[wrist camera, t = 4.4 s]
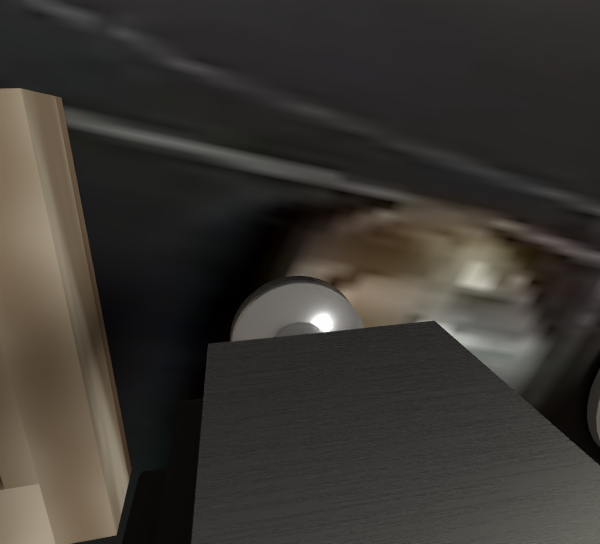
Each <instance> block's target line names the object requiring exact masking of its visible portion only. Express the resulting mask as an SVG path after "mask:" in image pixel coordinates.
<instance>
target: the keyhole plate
mask: <svg viewBox="0 0 600 544" xmlns="http://www.w3.org/2000/svg"><path fill="white" fill-rule="evenodd" d="M130 474H131V464H130V459H129V454H128V448H127V443H126V438H125V432H124V427H123V422H122V417H121V411H120V406H119V401H118V395H117V390H116V385H115V380H114V374H113V369H112V364H111V358H110V353H109V348H108V342H107V337H106V332H105V327H104V321H103V316H102V311H101V305H100V300H99V295H98V289H97V284H96V279H95V274H94V268H93V263H92V258H91V252H90V247H89V242H88V237H87V231H86V226H85V221H84V215H83V210H82V205H81V199H80V194H79V189H78V184H77V178H76V173H75V168H74V162H73V157H72V152H71V147H70V141H69V136H68V131H67V125H66V120H65V115H64V109H63V104H62V99H61V98H60V97H56V96H52V95H47V94H43V93H38V92H34V91H30V90H25V89H21V88H15V89H0V544H71V543H77V542H82V541H87V540H93V539H98V538H104V537H109V536H114V535H116V534H117V530H118V526H119V521H120V517H121V513H122V508H123V504H124V500H125V495H126V491H127V487H128V482H129V478H130Z"/></svg>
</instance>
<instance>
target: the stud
mask: <svg viewBox="0 0 600 544" xmlns="http://www.w3.org/2000/svg"><path fill="white" fill-rule="evenodd" d="M191 544H600V465H598V464H597V463H596V462H595V461H594V460H593V459H592V458H590V457H589V456H588V455H587V454H586V453H585V452H584V451H582V450H581V449H580V448H579V447H578V446H577V445H576V444H574V443H573V442H572V441H571V440H570V439H569V438H568V437H566V436H565V435H564V434H563V433H562V432H561V431H560V430H559V429H557V428H556V427H555V426H554V425H553V424H552V423H551V422H549V421H548V420H547V419H546V418H545V417H544V416H543V415H541V414H540V413H539V412H538V411H537V410H536V409H535V408H533V407H532V406H531V405H530V404H529V403H528V402H527V401H525V400H524V399H523V398H522V397H521V396H520V395H519V394H517V393H516V392H515V391H514V390H513V389H512V388H511V387H509V386H508V385H507V384H506V383H505V382H504V381H503V380H501V379H500V378H499V377H498V376H497V375H496V374H495V373H493V372H492V371H491V370H490V369H489V368H488V367H487V366H485V365H484V364H483V363H482V362H481V361H480V360H479V359H477V358H476V357H475V356H474V355H473V354H472V353H471V352H469V351H468V350H467V349H466V348H465V347H464V346H463V345H461V344H460V343H459V342H458V341H457V340H456V339H455V338H454V337H452V336H451V335H450V334H449V333H448V332H447V331H446V330H444V329H443V328H442V327H441V326H440V325H439V324H438V323H436V322H435V321H428V322H418V323H408V324H398V325H389V326H379V327H369V328H364V326H363V323H362V320H361V319H360V317H359V315H358V313H357V312H356V310H355V309H354V308H353V306H352V305H351V304H350V302H349V301H348V300H347V298H346V297H345V296H344V295H343V294H342V293H341V292H340V291H339V290H338V289H336V288H335V287H334V286H332V285H331V284H329V283H327V282H325V281H322V280H320V279H316V278H312V277H306V276H291V277H284V278H280V279H277V280H274V281H271V282H269V283H267V284H265V285H263V286H262V287H260V288H258V289H257V290H256V291H254V292H253V293H252V294H251V295H250V296H249V297H248V298H247V299H246V300H245V301H244V302H243V304H242V305H241V306H240V308H239V310H238V311H237V313H236V315H235V318H234V320H233V323H232V327H231V333H230V342H223V343H213V344H208V352H207V364H206V376H205V387H204V399H203V411H202V423H201V434H200V446H199V458H198V470H197V482H196V493H195V505H194V517H193V529H192V540H191Z"/></svg>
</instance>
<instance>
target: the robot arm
mask: <svg viewBox="0 0 600 544" xmlns="http://www.w3.org/2000/svg"><path fill="white" fill-rule="evenodd" d="M202 411H203V399H196V400H188V401H180V402H179V406H178V411H177V417H176V423H175V428H174V434H173V440H172V445H171V451H170V457H169V462H168V468H164V469H157V470H150V471H143V472H142V473H141V474H140V476H139V479H138V483H137V487H136V491H135V495H134V499H133V502H132V506H131V510H130V514H129V518H128V522H127V526H126V530H125V534H124V538H123V542H122V544H191V540H192V529H193V517H194V505H195V493H196V482H197V470H198V458H199V446H200V434H201V423H202ZM587 421H588V427H589V431H590V433H591V435H592V438H593V440H594V441H595V442H596V443H597V445H598V446H599V447H600V369H599V370H598V372H597V375H596V377H595V379H594V382H593V384H592V386H591V390H590V394H589V398H588V405H587Z"/></svg>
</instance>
